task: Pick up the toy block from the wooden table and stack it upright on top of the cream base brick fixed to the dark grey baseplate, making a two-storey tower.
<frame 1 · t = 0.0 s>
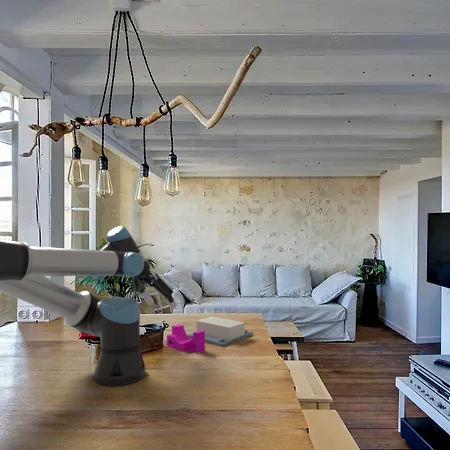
hand: (162, 305, 146), 15 cm above the table, tool tilted 35°, fingers open, 13 cm apart
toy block: (185, 349, 141), on the table
baseplate: (220, 336, 156), on the table
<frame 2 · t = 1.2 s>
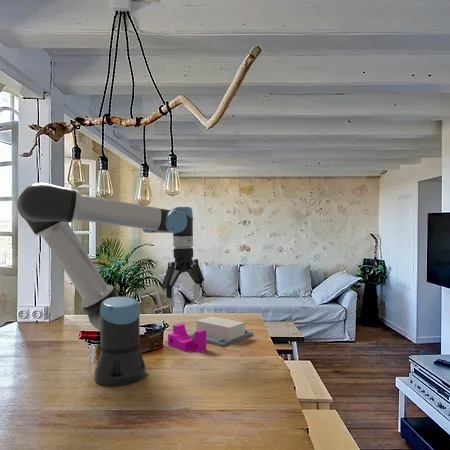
hand: (184, 303, 141), 17 cm above the table, tool pointing down, fingers open, 13 cm apart
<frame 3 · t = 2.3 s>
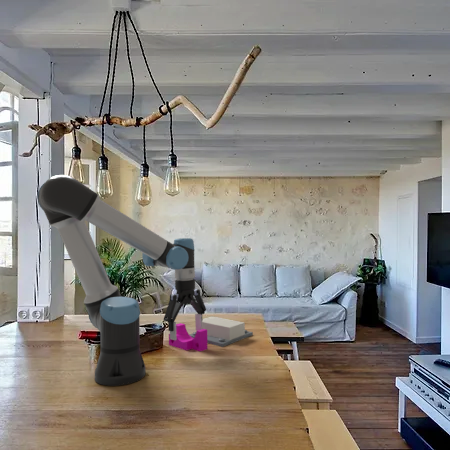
hand: (186, 335, 141), 5 cm above the table, tool pointing down, fingers open, 13 cm apart
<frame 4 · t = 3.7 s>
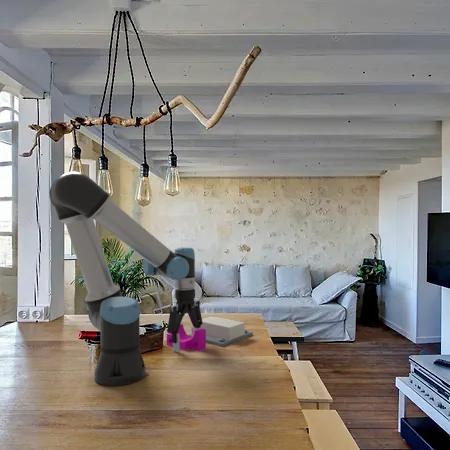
hand: (185, 347, 141), 0 cm above the table, tool pointing down, fingers open, 9 cm apart
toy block: (186, 347, 143), on the table, touching gripper
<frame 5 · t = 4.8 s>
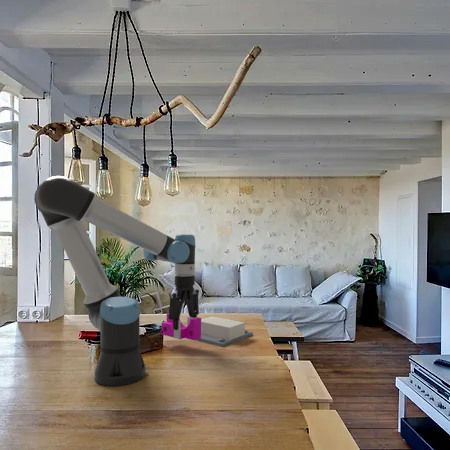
hand: (183, 336, 141), 5 cm above the table, tool pointing down, fingers closed on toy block, 6 cm apart
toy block: (180, 336, 142), point 4 cm above the table, touching gripper
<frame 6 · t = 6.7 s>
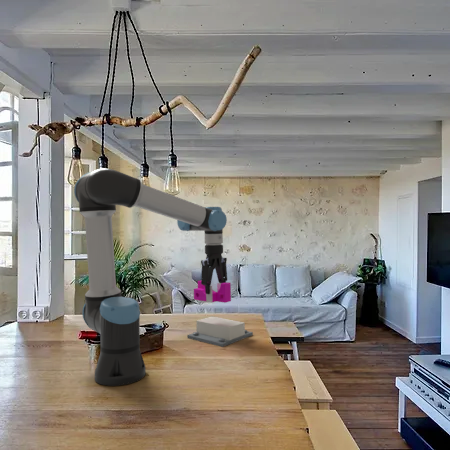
hand: (215, 300, 154), 16 cm above the table, tool pointing down, fingers closed on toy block, 6 cm apart
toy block: (212, 300, 155), point 15 cm above the table, touching gripper
when the fingers open (7 cm above the table, at t = 9.1 s): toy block stays where it is, resting on baseplate.
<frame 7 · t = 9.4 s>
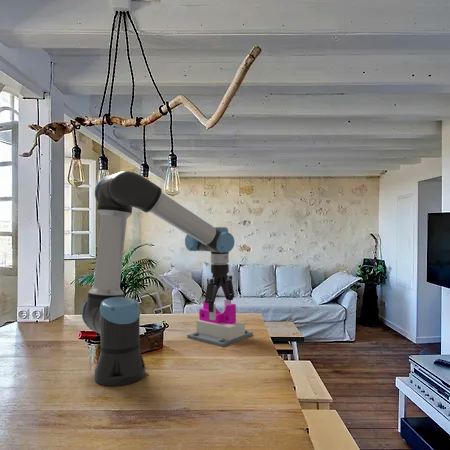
hand: (220, 317, 156), 8 cm above the table, tool pointing down, fingers open, 9 cm apart
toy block: (217, 321, 157), point 6 cm above the table, touching baseplate
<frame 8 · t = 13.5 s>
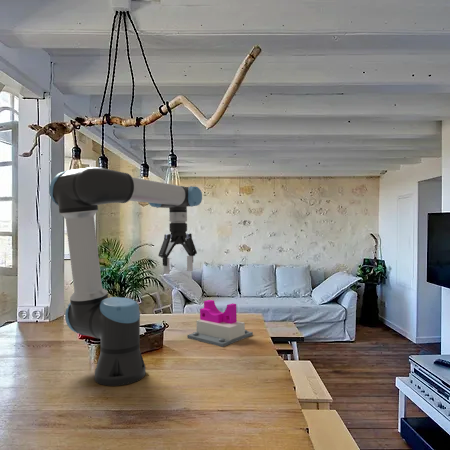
hand: (178, 272, 159), 27 cm above the table, tool pointing down, fingers open, 13 cm apart
nothing on the table moved.
at the end: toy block 1.9 cm off-centre on the baseplate, point 6.0 cm above the baseplate's base; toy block tilted 0°; the gripper is holding nothing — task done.
